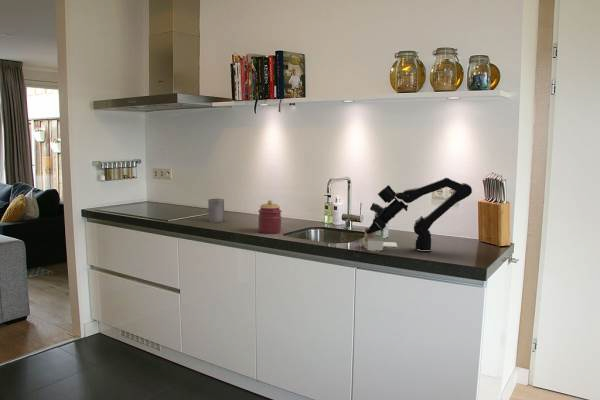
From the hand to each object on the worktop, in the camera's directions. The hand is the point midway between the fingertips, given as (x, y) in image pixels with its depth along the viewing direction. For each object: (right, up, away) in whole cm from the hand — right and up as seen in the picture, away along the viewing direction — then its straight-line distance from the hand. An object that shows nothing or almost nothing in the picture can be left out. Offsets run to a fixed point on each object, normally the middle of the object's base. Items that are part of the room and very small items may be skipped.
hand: (367, 231), depth 222 cm
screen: (+2, -8, -7) cm, 11 cm away
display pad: (+10, -7, +3) cm, 13 cm away
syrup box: (+10, -5, +23) cm, 26 cm away
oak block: (+1, -7, +1) cm, 8 cm away
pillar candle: (-85, +2, +68) cm, 109 cm away
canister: (-49, -3, +36) cm, 61 cm away
